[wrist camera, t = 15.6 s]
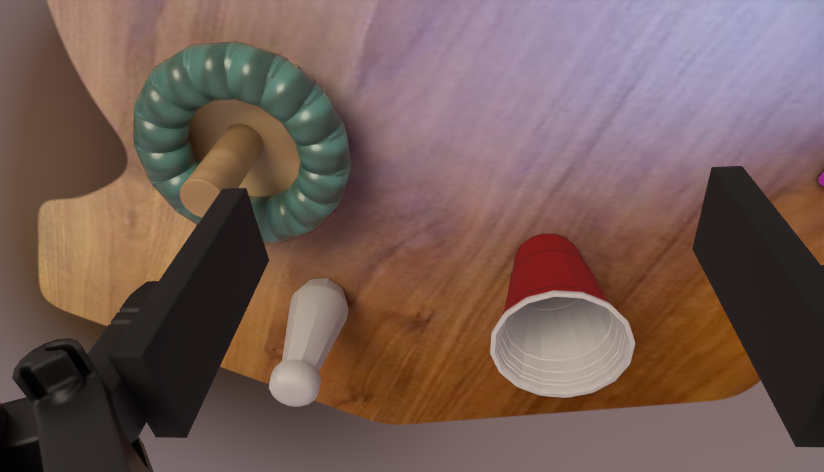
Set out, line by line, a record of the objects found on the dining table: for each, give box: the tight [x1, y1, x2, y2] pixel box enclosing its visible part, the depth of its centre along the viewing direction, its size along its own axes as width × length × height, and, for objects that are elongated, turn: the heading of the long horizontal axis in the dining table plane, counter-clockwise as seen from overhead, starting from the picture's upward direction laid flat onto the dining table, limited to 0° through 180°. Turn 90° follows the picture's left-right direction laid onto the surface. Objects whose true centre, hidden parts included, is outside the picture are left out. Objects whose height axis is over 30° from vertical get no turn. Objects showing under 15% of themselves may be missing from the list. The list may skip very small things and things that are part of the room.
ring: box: [134, 42, 352, 243], centre depth 45 cm, size 17×17×4 cm
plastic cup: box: [490, 234, 635, 398], centre depth 48 cm, size 11×11×12 cm
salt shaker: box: [269, 278, 348, 407], centre depth 53 cm, size 6×6×13 cm
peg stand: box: [180, 65, 300, 217], centre depth 44 cm, size 11×11×10 cm
